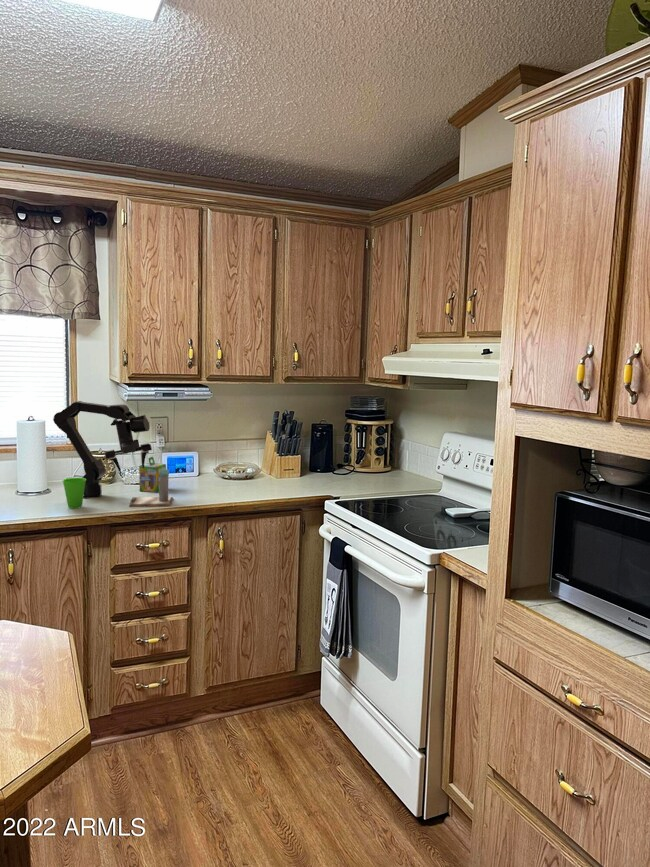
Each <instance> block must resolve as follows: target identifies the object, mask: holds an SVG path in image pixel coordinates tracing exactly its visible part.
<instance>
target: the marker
mask: <svg viewBox="0 0 650 867" xmlns="http://www.w3.org/2000/svg"><path fill="white" fill-rule="evenodd" d="M159 475H160V479H159V492H158V497H159V501H161V502H166V501H168V497H169V475H170V469H168V468H166V469H160V470H159Z"/></svg>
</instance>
